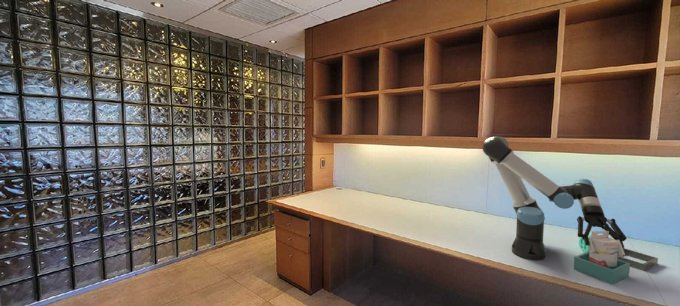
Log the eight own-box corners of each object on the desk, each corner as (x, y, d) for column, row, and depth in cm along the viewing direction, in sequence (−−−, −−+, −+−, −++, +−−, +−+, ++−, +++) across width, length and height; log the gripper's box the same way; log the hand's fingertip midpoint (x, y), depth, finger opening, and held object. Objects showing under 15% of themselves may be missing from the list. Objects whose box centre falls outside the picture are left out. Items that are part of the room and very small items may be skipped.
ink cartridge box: (598, 267, 122) (600, 235, 120) (588, 262, 127) (590, 231, 125) (617, 266, 122) (619, 234, 121) (606, 261, 127) (608, 230, 125)
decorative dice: (606, 256, 140) (607, 241, 139) (588, 255, 141) (589, 240, 141) (595, 249, 148) (596, 235, 147) (578, 248, 149) (579, 234, 148)
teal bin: (573, 269, 128) (574, 256, 128) (589, 262, 134) (590, 250, 134) (613, 284, 116) (614, 270, 115) (628, 276, 122) (629, 263, 121)
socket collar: (604, 258, 138) (605, 252, 138) (618, 252, 144) (618, 246, 144) (644, 271, 126) (644, 264, 125) (657, 264, 131) (658, 258, 131)
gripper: (617, 213, 133) (636, 260, 120) (561, 210, 141) (573, 253, 127) (624, 206, 128) (645, 254, 114) (566, 202, 135) (579, 247, 122)
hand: (607, 253), depth 121 cm, fingers closed on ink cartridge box, 9 cm apart
